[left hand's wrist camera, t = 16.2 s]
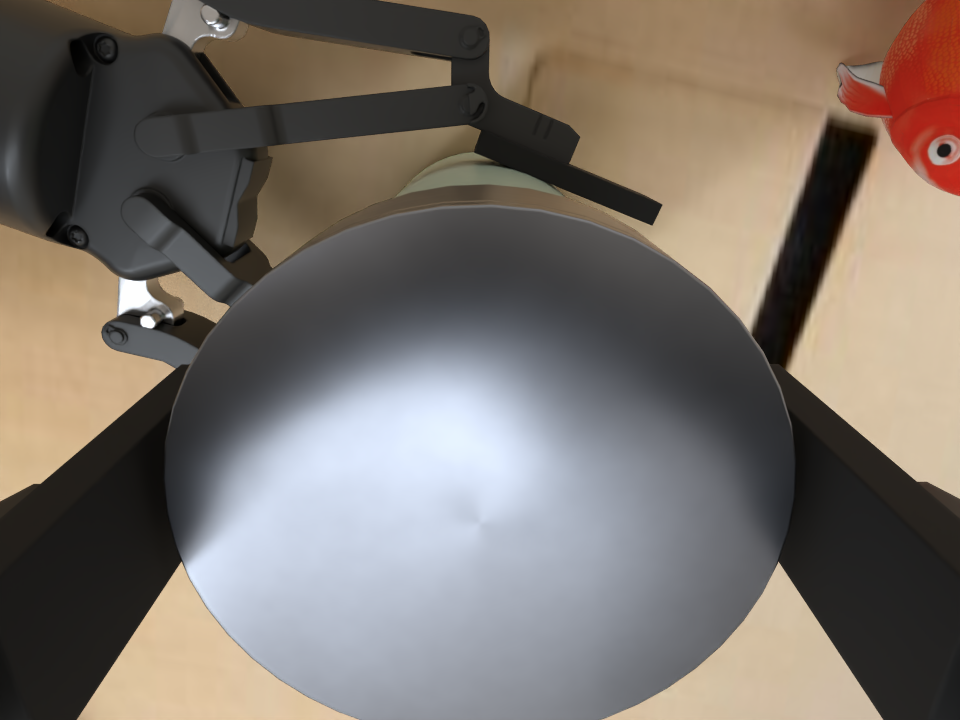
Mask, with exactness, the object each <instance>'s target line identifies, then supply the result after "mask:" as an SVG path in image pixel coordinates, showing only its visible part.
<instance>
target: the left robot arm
mask: <svg viewBox="0 0 960 720" xmlns="http://www.w3.org/2000/svg"><path fill="white" fill-rule="evenodd" d="M189 365H190V364H181V365H180V366H179V367H178V368H176V369H175V370H174V371H173V372H172V373H171V374H169V375H168V376H167V377H166V378H165V379H164V380H162V381H161V382H160V383H159V384H158V385H156V386H155V387H154V388H153V389H152V390H151V391H149V392H148V393H147V394H146V395H145V396H144V397H142V398H141V399H140V400H139V401H138V402H136V403H135V404H134V405H133V406H132V407H131V408H129V409H128V410H127V411H126V412H125V413H124V414H122V415H121V416H120V417H119V418H118V419H116V420H115V421H114V422H113V423H112V424H111V425H109V426H108V427H107V428H106V429H105V430H104V431H102V432H101V433H100V434H99V435H98V436H96V437H95V438H94V439H93V440H92V441H91V442H89V443H88V444H87V445H86V446H85V447H84V448H82V449H81V450H80V451H79V452H78V453H76V454H75V455H74V456H73V457H72V458H71V459H69V460H68V461H67V462H66V463H65V464H64V465H62V466H61V467H60V468H59V469H58V470H56V471H55V472H54V473H53V474H52V475H51V476H49V477H48V478H47V479H46V480H45V481H44V482H42V483H41V484H33V485H31V486H29V487H27V488H25V489H23V490H21V491H20V492H18V493H16V494H14V495H12V496H10V497H8V498H6V499H4V500H2V501H0V720H77V718H78V717H79V715H80V714H81V712H82V711H83V709H84V708H85V706H86V705H87V703H88V702H89V700H90V699H91V697H92V696H93V694H94V693H95V691H96V690H97V688H98V687H99V685H100V684H101V682H102V681H103V679H104V678H105V676H106V675H107V673H108V672H109V670H110V669H111V667H112V665H113V664H114V662H115V661H116V659H117V658H118V656H119V655H120V653H121V652H122V650H123V649H124V647H125V646H126V644H127V643H128V641H129V640H130V638H131V637H132V635H133V634H134V632H135V631H136V629H137V628H138V626H139V625H140V623H141V622H142V620H143V619H144V617H145V616H146V614H147V613H148V611H149V610H150V608H151V607H152V605H153V604H154V602H155V601H156V599H157V598H158V596H159V595H160V593H161V591H162V590H163V588H164V587H165V585H166V584H167V582H168V581H169V579H170V578H171V576H172V575H173V573H174V572H175V570H176V569H177V567H178V566H179V564H180V563H181V558H180V556H179V554H178V551H177V549H176V546H175V542H174V538H173V535H172V531H171V527H170V523H169V520H168V516H167V509H166V500H165V491H164V481H163V475H164V455H165V441H166V436H167V431H168V426H169V422H170V417H171V412H172V408H173V404H174V402H175V399H176V397H177V394H178V391H179V389H180V386H181V384H182V381H183V378H184V376H185V373H186V371H187V369H188V367H189ZM769 365H770V367H771V369H772V371H773V373H774V375H775V377H776V379H777V381H778V383H779V386H780V388H781V391H782V394H783V398H784V401H785V404H786V408H787V411H788V414H789V418H790V421H791V425H792V433H793V440H794V448H795V455H796V486H795V500H794V506H793V511H792V517H791V522H790V528H789V532H788V535H787V538H786V541H785V544H784V546H783V549H782V552H781V555H780V558H779V563H780V564H781V566H782V567H783V569H784V570H785V572H786V573H787V575H788V576H789V578H790V579H791V581H792V582H793V584H794V585H795V587H796V588H797V590H798V591H799V593H800V595H801V596H802V598H803V599H804V601H805V602H806V604H807V605H808V607H809V608H810V610H811V611H812V613H813V614H814V616H815V617H816V619H817V620H818V622H819V623H820V625H821V626H822V628H823V629H824V631H825V632H826V634H827V635H828V637H829V638H830V640H831V641H832V643H833V644H834V646H835V647H836V649H837V650H838V652H839V653H840V655H841V656H842V658H843V659H844V661H845V662H846V664H847V665H848V667H849V669H850V670H851V672H852V673H853V675H854V676H855V678H856V679H857V681H858V682H859V684H860V685H861V687H862V688H863V690H864V691H865V693H866V694H867V696H868V697H869V699H870V700H871V702H872V703H873V705H874V706H875V708H876V709H877V711H878V712H879V714H880V715H881V717H882V718H883V720H960V499H959V498H957V497H955V496H953V495H951V494H949V493H947V492H945V491H943V490H942V489H940V488H938V487H936V486H934V485H932V484H930V483H928V482H916V481H915V480H914V479H913V478H912V477H911V476H909V475H908V474H907V473H906V472H905V471H903V470H902V469H901V468H900V467H899V466H898V465H896V464H895V463H894V462H893V461H892V460H891V459H889V458H888V457H887V456H886V455H885V454H883V453H882V452H881V451H880V450H879V449H878V448H876V447H875V446H874V445H873V444H872V443H871V442H869V441H868V440H867V439H866V438H865V437H863V436H862V435H861V434H860V433H859V432H858V431H856V430H855V429H854V428H853V427H852V426H851V425H849V424H848V423H847V422H846V421H845V420H843V419H842V418H841V417H840V416H839V415H838V414H836V413H835V412H834V411H833V410H832V409H831V408H829V407H828V406H827V405H826V404H825V403H823V402H822V401H821V400H820V399H819V398H818V397H816V396H815V395H814V394H813V393H812V392H811V391H809V390H808V389H807V388H806V387H805V386H803V385H802V384H801V383H800V382H799V381H798V380H796V379H795V378H794V377H793V376H792V375H791V374H789V373H788V372H787V371H786V370H785V369H784V368H782V367H781V366H780V365H779V364H769Z"/></svg>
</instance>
